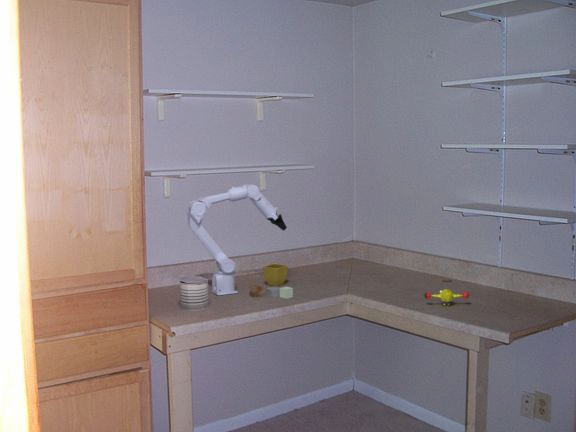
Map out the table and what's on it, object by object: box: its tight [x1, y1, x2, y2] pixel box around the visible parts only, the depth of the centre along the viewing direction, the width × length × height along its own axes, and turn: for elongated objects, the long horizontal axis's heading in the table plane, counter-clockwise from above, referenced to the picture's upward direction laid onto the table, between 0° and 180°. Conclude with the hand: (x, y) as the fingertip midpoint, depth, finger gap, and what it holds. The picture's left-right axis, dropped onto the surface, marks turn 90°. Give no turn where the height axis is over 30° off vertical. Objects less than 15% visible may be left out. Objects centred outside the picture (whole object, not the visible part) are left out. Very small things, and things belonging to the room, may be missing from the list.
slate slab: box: [265, 286, 281, 298], centre depth 276 cm, size 6×6×3 cm
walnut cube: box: [248, 284, 264, 299], centre depth 274 cm, size 4×4×4 cm
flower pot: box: [262, 263, 289, 287], centre depth 294 cm, size 9×9×9 cm
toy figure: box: [424, 288, 470, 307], centre depth 255 cm, size 18×6×7 cm, turn 90°
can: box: [179, 275, 209, 312], centre depth 255 cm, size 11×11×12 cm
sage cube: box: [279, 286, 294, 299], centre depth 272 cm, size 4×4×4 cm
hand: (283, 227), depth 286 cm, fingers open, 7 cm apart
